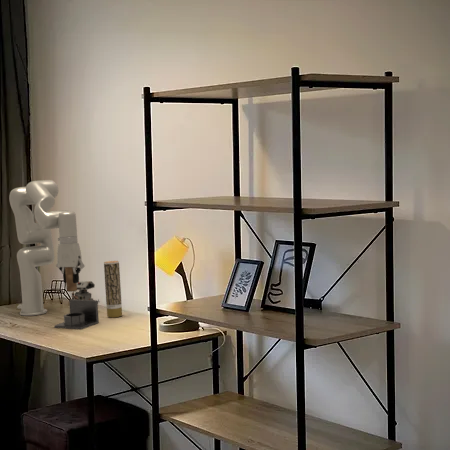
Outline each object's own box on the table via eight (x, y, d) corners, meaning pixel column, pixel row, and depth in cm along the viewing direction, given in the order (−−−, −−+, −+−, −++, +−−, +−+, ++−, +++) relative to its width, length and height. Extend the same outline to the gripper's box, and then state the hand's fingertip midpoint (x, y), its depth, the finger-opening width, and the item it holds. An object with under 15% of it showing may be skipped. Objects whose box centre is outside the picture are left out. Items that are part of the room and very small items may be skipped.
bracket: (72, 321, 367) (71, 299, 366) (98, 323, 360) (97, 300, 360) (54, 327, 355) (52, 304, 354) (81, 329, 349) (79, 306, 348)
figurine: (83, 316, 378) (81, 283, 377) (70, 313, 387) (68, 281, 385) (100, 312, 384) (98, 281, 383) (87, 309, 393) (85, 278, 391)
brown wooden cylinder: (64, 291, 354) (62, 259, 353) (70, 289, 358) (68, 257, 357) (72, 291, 352) (70, 259, 351) (79, 289, 356) (76, 257, 355)
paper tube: (119, 318, 369) (116, 262, 367) (105, 318, 371) (101, 263, 368) (124, 314, 376) (121, 260, 374) (110, 314, 377) (106, 260, 375)
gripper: (47, 241, 353) (50, 283, 355) (79, 241, 346) (82, 284, 347) (58, 239, 360) (61, 280, 362) (89, 239, 353) (92, 281, 354)
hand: (71, 282), depth 355 cm, fingers closed on brown wooden cylinder, 4 cm apart
